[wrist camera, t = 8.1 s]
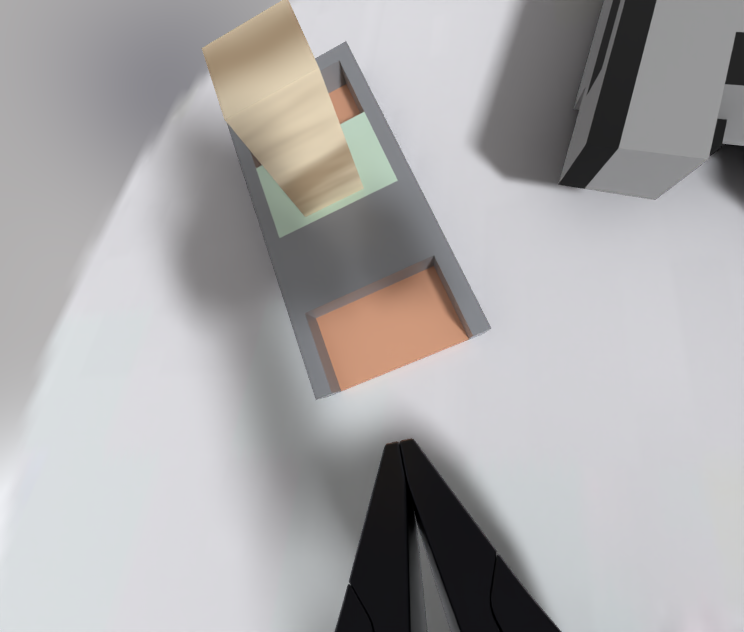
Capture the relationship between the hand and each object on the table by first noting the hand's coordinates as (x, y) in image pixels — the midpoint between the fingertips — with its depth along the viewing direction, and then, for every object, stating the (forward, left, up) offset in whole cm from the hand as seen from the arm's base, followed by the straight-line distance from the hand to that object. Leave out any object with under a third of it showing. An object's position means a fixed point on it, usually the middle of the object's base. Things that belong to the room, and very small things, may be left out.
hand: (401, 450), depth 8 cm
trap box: (+11, -11, -12) cm, 21 cm away
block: (+13, -13, -10) cm, 21 cm away
